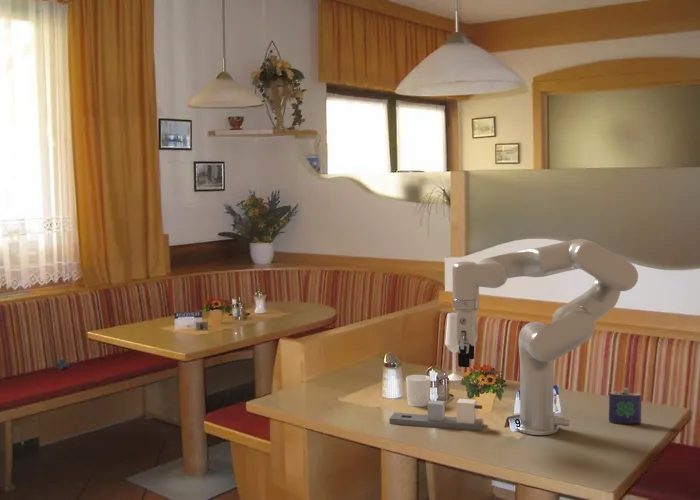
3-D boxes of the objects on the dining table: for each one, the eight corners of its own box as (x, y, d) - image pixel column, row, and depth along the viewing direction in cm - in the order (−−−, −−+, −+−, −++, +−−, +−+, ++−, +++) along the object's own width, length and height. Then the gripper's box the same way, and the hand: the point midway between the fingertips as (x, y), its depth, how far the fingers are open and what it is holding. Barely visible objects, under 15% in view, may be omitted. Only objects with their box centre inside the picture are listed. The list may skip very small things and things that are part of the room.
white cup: (429, 412, 250) (429, 381, 249) (404, 411, 252) (404, 380, 251) (431, 405, 258) (431, 375, 257) (407, 404, 260) (407, 374, 259)
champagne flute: (452, 381, 286) (452, 316, 284) (441, 377, 292) (441, 313, 289) (467, 379, 289) (467, 314, 287) (456, 375, 295) (456, 311, 293)
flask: (640, 422, 237) (641, 387, 236) (642, 425, 234) (642, 390, 233) (608, 420, 239) (608, 386, 238) (609, 423, 236) (609, 388, 235)
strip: (483, 429, 233) (483, 416, 232) (480, 435, 227) (480, 422, 227) (394, 422, 241) (394, 410, 240) (389, 428, 235) (389, 415, 235)
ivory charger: (483, 425, 232) (482, 400, 231) (481, 429, 228) (480, 404, 227) (459, 423, 234) (459, 398, 233) (456, 427, 230) (456, 402, 229)
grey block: (444, 422, 235) (444, 401, 234) (442, 426, 231) (442, 404, 231) (430, 421, 236) (429, 400, 236) (427, 425, 233) (427, 403, 232)
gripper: (474, 310, 219) (475, 370, 220) (482, 300, 235) (483, 356, 237) (447, 309, 221) (448, 369, 222) (457, 299, 237) (458, 355, 239)
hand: (466, 362), depth 230 cm, fingers open, 9 cm apart
